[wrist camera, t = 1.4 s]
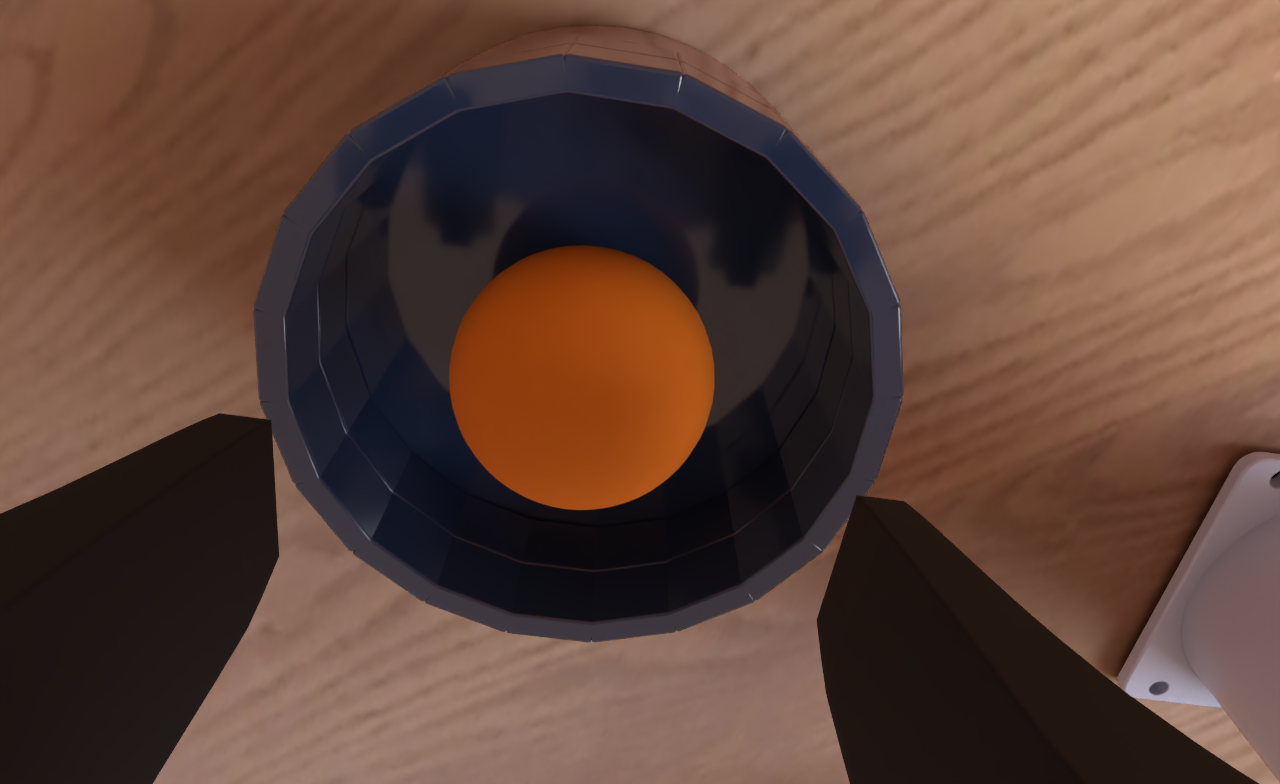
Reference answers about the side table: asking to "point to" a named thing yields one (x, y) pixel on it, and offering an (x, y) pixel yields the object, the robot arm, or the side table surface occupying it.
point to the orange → (581, 377)
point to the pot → (565, 216)
